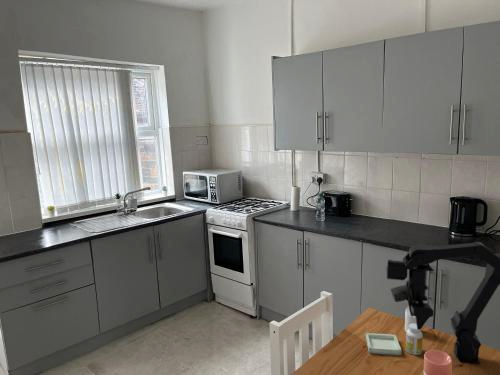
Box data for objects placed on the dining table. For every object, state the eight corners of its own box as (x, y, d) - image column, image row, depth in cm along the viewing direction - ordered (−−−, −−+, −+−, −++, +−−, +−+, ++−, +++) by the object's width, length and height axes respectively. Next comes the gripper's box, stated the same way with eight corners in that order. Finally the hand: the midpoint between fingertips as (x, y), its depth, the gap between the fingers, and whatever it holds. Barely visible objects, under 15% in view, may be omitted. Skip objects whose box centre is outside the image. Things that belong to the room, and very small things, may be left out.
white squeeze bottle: (406, 305, 146) (404, 298, 152) (405, 333, 148) (403, 326, 154) (423, 306, 145) (420, 299, 150) (422, 335, 147) (419, 327, 152)
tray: (395, 339, 144) (395, 334, 144) (401, 355, 134) (401, 350, 134) (365, 337, 146) (365, 332, 146) (369, 353, 136) (369, 348, 136)
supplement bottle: (420, 347, 139) (421, 323, 137) (422, 356, 134) (424, 330, 132) (404, 345, 140) (405, 321, 139) (406, 354, 135) (407, 329, 134)
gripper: (388, 270, 143) (386, 308, 146) (399, 291, 125) (397, 335, 127) (419, 271, 141) (417, 310, 144) (435, 293, 123) (432, 337, 126)
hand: (415, 322), depth 135 cm, fingers open, 9 cm apart
